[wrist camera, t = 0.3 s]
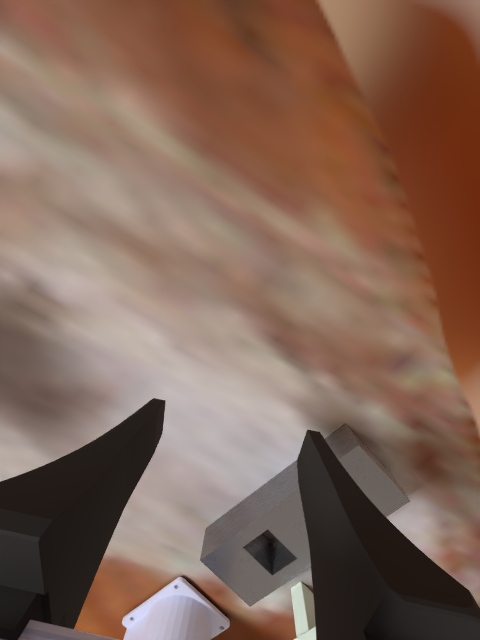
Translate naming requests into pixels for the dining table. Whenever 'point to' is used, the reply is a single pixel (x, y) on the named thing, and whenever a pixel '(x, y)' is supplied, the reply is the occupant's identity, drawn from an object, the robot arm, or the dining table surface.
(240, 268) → the dining table surface
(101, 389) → the dining table surface
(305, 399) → the dining table surface
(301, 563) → the grey block with holes
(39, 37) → the dining table surface
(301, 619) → the notched cream block
